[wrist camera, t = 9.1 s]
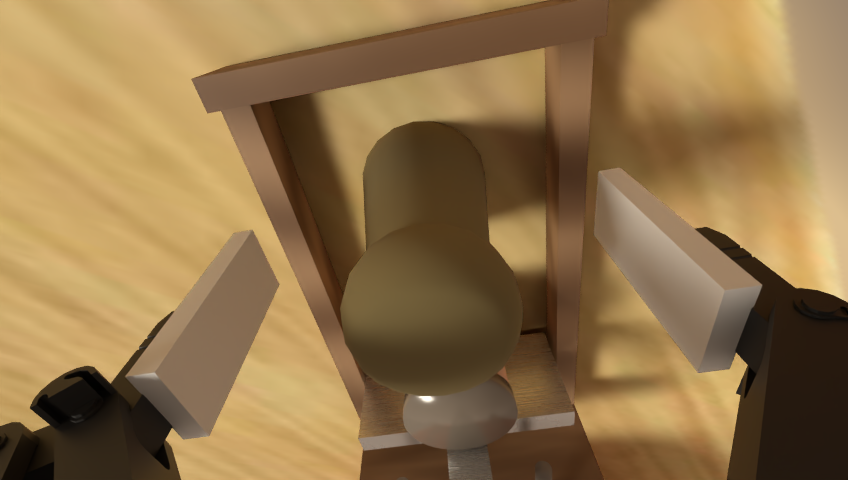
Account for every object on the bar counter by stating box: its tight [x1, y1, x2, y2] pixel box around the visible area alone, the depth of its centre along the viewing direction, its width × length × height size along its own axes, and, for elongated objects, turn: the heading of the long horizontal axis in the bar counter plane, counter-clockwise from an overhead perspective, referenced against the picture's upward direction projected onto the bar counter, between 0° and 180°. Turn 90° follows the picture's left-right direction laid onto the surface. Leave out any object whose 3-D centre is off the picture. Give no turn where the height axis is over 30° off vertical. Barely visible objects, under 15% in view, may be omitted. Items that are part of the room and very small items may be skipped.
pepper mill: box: [340, 122, 523, 396], centre depth 14 cm, size 6×6×11 cm
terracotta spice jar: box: [403, 366, 518, 450], centre depth 20 cm, size 5×5×7 cm
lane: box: [192, 0, 609, 480], centre depth 18 cm, size 25×14×8 cm, turn 10°
